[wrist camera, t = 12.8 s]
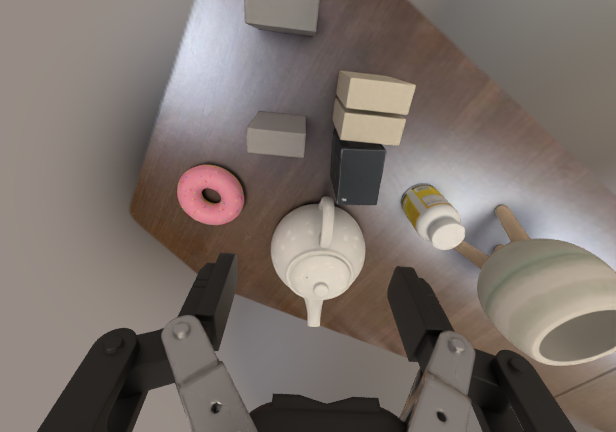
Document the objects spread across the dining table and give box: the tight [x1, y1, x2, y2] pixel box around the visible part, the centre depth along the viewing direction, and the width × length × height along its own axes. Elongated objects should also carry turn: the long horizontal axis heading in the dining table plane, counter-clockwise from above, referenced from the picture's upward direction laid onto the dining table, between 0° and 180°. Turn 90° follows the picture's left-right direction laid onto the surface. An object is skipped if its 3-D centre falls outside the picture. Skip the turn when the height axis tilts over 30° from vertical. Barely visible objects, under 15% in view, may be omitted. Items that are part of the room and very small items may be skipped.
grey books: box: [245, 0, 319, 158], centre depth 33 cm, size 16×7×10 cm, turn 174°
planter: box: [454, 205, 616, 366], centre depth 42 cm, size 16×16×22 cm
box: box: [330, 128, 386, 205], centre depth 39 cm, size 8×6×11 cm
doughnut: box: [177, 165, 244, 225], centre depth 45 cm, size 11×11×4 cm
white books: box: [332, 71, 416, 146], centre depth 34 cm, size 6×7×11 cm
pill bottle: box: [401, 184, 465, 250], centre depth 43 cm, size 6×6×12 cm
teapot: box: [271, 196, 365, 327], centre depth 46 cm, size 19×18×14 cm
